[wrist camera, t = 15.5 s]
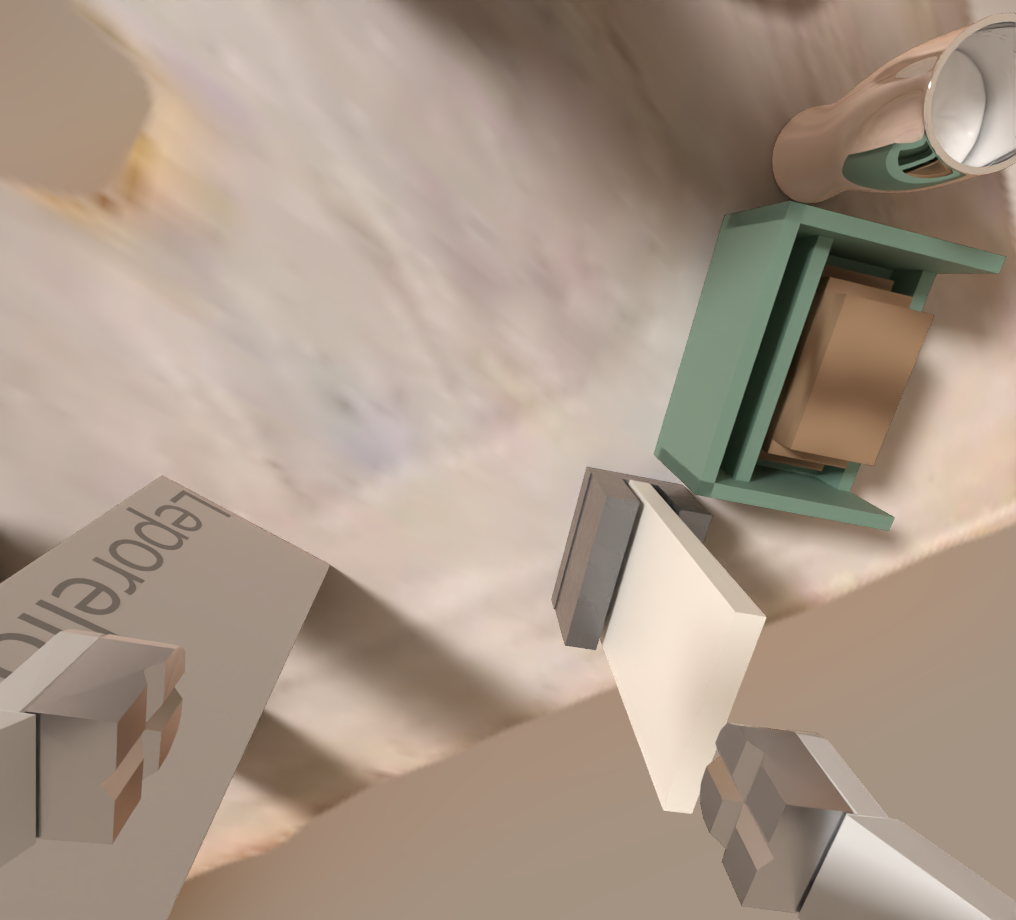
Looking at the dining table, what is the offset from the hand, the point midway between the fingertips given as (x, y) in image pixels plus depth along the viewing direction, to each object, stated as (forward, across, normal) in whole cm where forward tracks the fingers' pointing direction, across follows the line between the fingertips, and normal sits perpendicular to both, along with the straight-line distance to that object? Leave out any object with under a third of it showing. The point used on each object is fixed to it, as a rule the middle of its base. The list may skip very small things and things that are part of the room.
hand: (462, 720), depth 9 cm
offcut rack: (+37, -23, -5) cm, 44 cm away
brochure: (+37, +15, +18) cm, 44 cm away
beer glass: (+37, -21, -19) cm, 47 cm away
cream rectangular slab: (+36, -15, +12) cm, 40 cm away
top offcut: (+31, -25, -5) cm, 40 cm away
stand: (+37, -15, +12) cm, 42 cm away
